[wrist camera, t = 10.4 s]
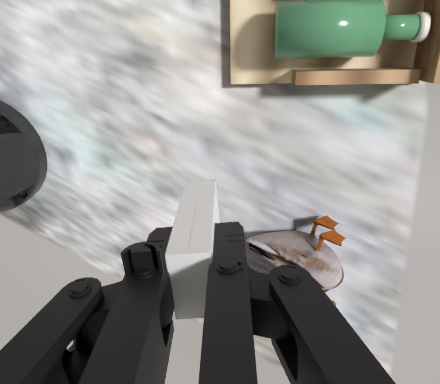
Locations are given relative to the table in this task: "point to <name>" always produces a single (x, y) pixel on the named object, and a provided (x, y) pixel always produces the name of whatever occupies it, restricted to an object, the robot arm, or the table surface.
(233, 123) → the table surface
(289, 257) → the decorative duck model
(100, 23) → the table surface
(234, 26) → the cradle
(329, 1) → the bottle
